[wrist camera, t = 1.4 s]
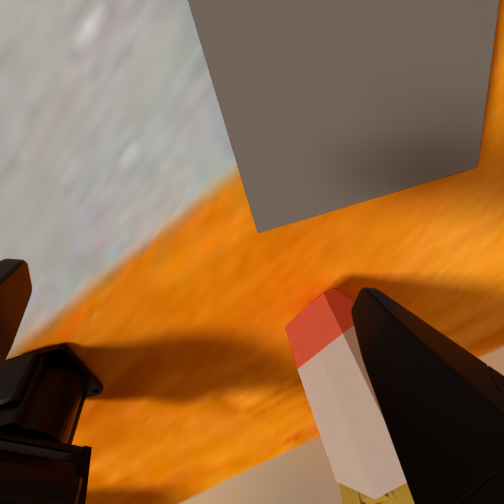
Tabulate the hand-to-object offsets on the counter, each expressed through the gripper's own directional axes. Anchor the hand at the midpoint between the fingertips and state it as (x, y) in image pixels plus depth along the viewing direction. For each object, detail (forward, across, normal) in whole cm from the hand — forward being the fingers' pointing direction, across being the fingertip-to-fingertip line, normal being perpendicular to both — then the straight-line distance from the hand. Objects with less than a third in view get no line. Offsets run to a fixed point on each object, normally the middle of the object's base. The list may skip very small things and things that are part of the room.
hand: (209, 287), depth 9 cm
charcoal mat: (+13, -8, -5) cm, 16 cm away
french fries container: (+13, -13, +13) cm, 23 cm away
